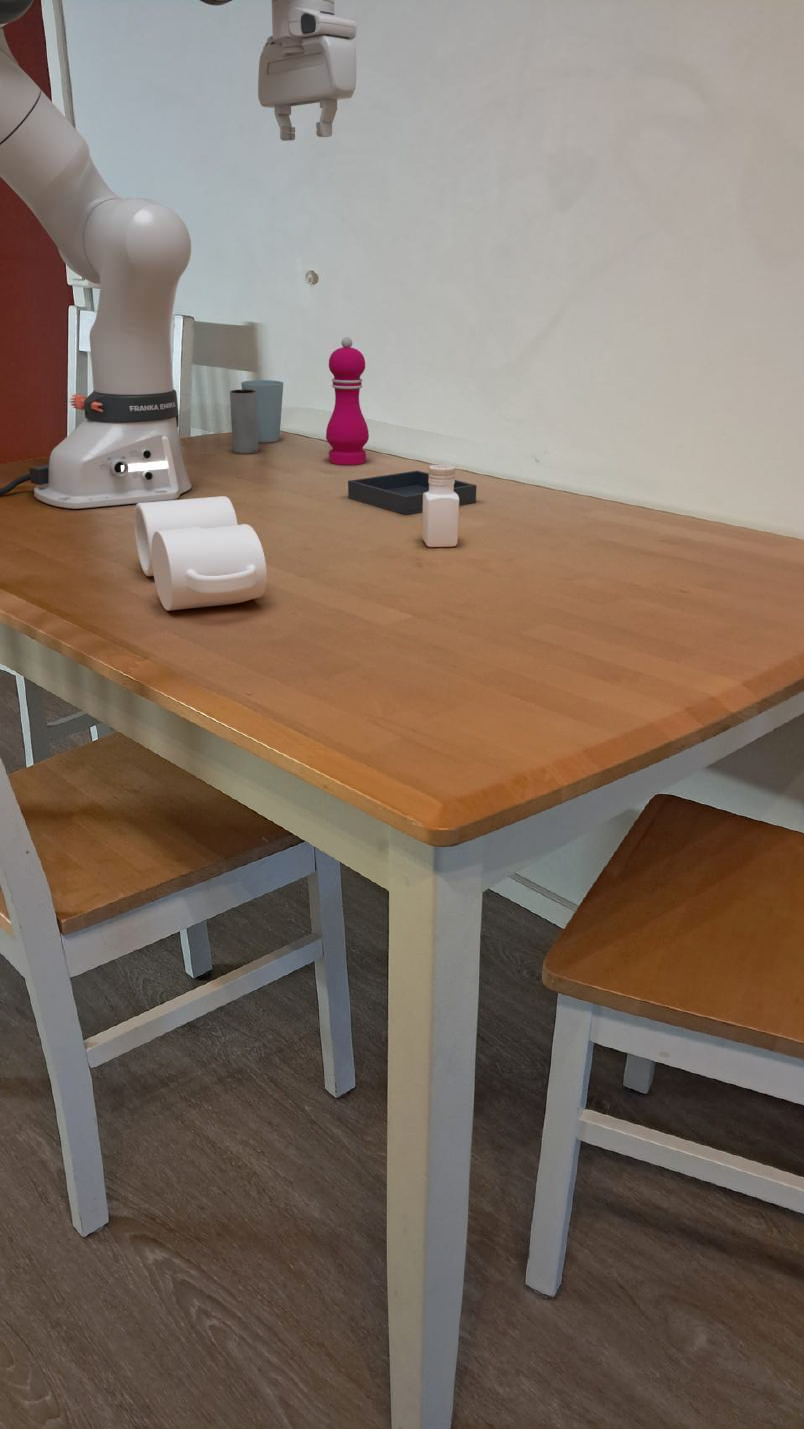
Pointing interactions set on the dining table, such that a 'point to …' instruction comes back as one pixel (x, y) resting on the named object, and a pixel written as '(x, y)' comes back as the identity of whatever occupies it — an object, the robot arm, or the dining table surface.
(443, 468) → the pepper shaker
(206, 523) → the mug
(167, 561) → the mug
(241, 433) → the planter
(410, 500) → the spice tray
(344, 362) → the pepper mill
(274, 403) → the cup
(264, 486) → the dining table surface
